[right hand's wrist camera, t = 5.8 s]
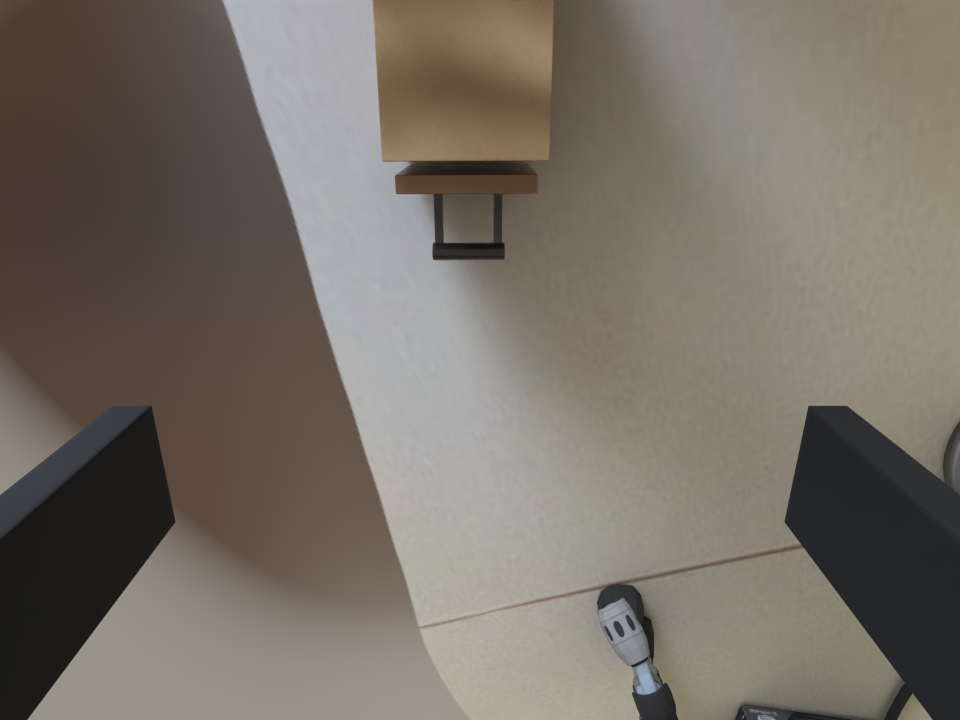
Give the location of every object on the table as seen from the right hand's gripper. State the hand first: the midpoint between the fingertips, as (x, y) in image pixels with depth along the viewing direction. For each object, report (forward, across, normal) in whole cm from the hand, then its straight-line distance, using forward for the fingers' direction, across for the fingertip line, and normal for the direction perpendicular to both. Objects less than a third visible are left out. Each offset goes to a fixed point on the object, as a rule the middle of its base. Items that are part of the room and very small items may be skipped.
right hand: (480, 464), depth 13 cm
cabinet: (+41, +1, -14) cm, 43 cm away
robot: (+41, -15, +42) cm, 60 cm away
